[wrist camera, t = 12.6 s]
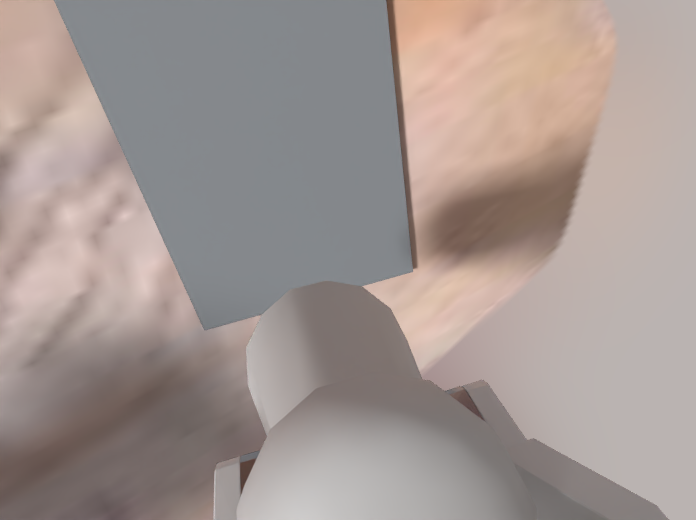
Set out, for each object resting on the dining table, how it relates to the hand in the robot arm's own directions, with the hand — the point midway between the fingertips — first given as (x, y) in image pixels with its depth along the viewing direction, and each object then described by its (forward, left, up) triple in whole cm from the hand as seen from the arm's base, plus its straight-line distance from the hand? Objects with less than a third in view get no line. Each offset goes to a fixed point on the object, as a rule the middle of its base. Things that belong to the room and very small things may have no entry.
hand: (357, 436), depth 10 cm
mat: (-1, +1, -18) cm, 18 cm away
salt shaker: (+3, -2, -8) cm, 9 cm away
